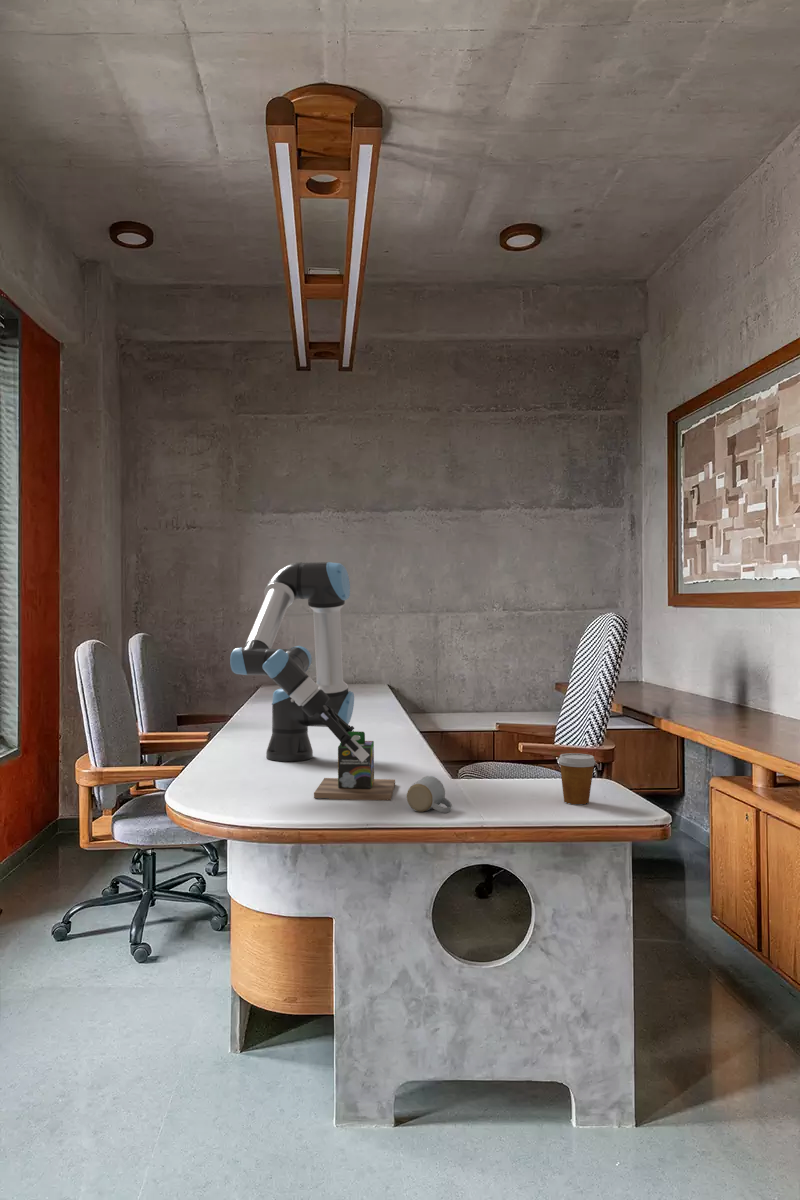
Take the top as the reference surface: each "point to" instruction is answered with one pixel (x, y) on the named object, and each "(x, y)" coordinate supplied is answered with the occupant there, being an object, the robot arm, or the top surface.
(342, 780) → the chalk box
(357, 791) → the walnut board
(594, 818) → the top surface
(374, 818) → the top surface
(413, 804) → the ceramic mug
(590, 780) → the disposable coffee cup
